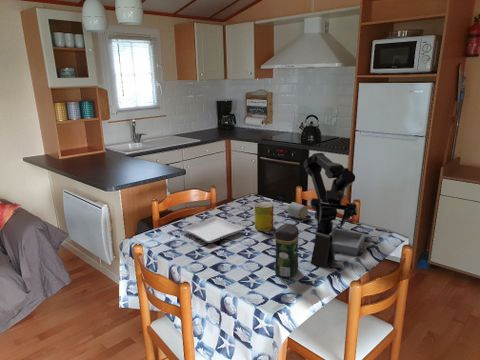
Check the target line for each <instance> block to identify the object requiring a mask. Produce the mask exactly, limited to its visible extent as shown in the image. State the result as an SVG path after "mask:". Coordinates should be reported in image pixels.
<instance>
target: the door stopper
mask: <svg viewBox="0 0 480 360" xmlns="http://www.w3.org/2000/svg"><path fill="white" fill-rule="evenodd" d="M314 238H315V239H314V244H313V245H314V246H313V250H312V255H311V260H310V264H312V265H313V266H317V267H320V268H324V269H325V268H326V267H328V266H329V265H330V264H332V263H333V262H335V260H336V257H335V251H334V250H333V243H332V239H333V237H332V235H328V234H324V233H321V232H318V233H317V232H316V233H315V236H314Z"/></svg>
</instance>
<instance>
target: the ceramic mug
mask: <svg viewBox="0 0 480 360" xmlns="http://www.w3.org/2000/svg"><path fill="white" fill-rule="evenodd" d="M287 215H288V216H290V217H291V218H292V217H293V218H296V219H300V220H303V219H305V218H306V217H307V216H308V208H307V206H305V205H304V204H300V203H298V202H295V201H292V202H291V203H290V204H289V205H288V208H287Z"/></svg>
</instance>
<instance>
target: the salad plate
mask: <svg viewBox="0 0 480 360" xmlns="http://www.w3.org/2000/svg"><path fill="white" fill-rule="evenodd" d="M243 229H244V228H243V227H241V226H239V225H237V224H235V223H232V222H230V221H228V220H226V219H224V218H223V219H222V218H221V217H218V216H216V217H213V218H209V219H206V220H202V221H199V222H197V223H194V224H191V225H188V226H185V227H183V228H182V230H183V231H184V232H185V233H187V234H189V235H192V236H193V237H196V238H198V239H200V240H202V242H205V243H207V244H212V243H215V242H217V241H220V239H221V240H223V239H225V238H229V237H232V236H234V235H236V234H238V233H241V231H243ZM228 236H229V237H228Z"/></svg>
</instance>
